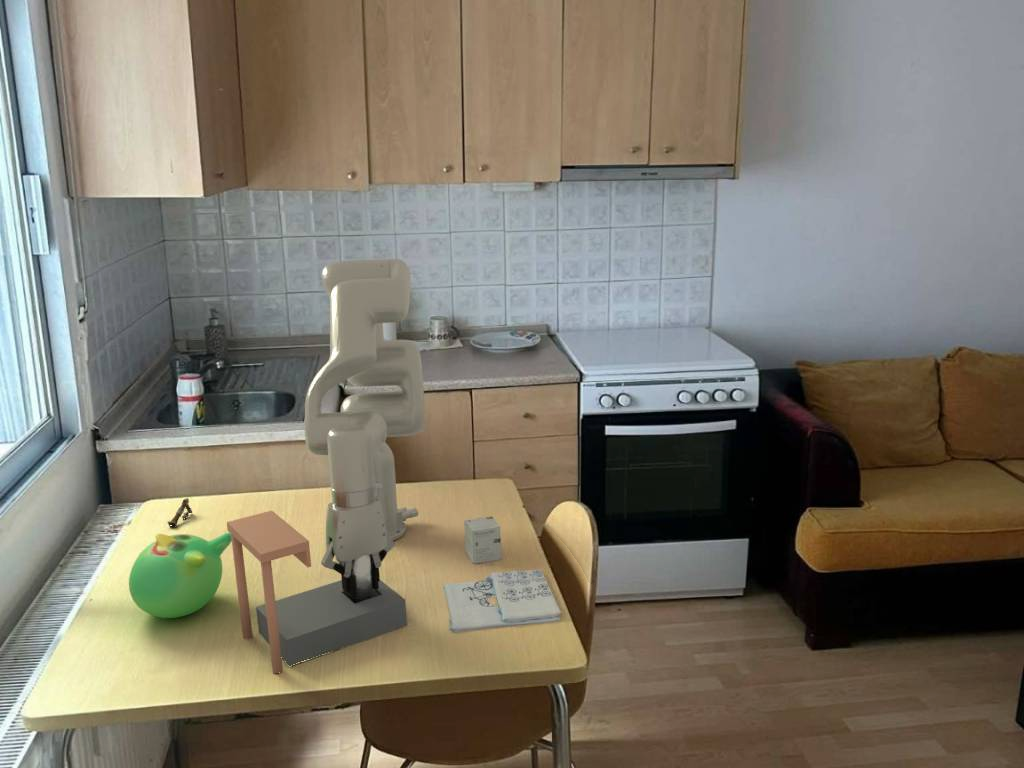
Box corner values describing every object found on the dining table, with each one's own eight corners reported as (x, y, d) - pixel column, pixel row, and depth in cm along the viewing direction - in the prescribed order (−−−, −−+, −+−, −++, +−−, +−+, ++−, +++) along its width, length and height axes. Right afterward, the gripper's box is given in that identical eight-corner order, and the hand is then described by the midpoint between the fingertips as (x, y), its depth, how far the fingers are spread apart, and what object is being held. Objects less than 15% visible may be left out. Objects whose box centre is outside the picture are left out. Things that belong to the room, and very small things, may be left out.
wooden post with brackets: (196, 509, 221) (190, 496, 218) (181, 535, 215) (174, 522, 212) (189, 509, 221) (183, 495, 218) (173, 535, 215) (166, 521, 212)
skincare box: (473, 564, 190) (471, 531, 188) (465, 552, 196) (463, 519, 194) (502, 559, 192) (500, 526, 190) (493, 547, 198) (491, 515, 196)
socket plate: (371, 595, 179) (369, 571, 178) (407, 625, 168) (405, 599, 167) (258, 632, 167) (255, 606, 166) (289, 667, 156) (286, 640, 155)
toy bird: (158, 587, 185) (148, 517, 181) (243, 585, 185) (235, 515, 181) (118, 634, 168) (106, 558, 164) (212, 633, 167) (203, 557, 163)
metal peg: (367, 593, 173) (363, 543, 170) (377, 601, 169) (373, 550, 167) (347, 600, 170) (343, 549, 168) (357, 608, 167) (353, 556, 165)
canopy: (283, 621, 171) (271, 510, 165) (320, 659, 158) (308, 540, 152) (240, 635, 166) (226, 522, 161) (274, 676, 154) (260, 554, 148)
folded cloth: (562, 624, 168) (562, 613, 167) (448, 636, 165) (448, 625, 165) (543, 575, 186) (543, 565, 185) (440, 585, 183) (439, 575, 183)
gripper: (386, 477, 172) (393, 569, 177) (300, 499, 163) (309, 596, 168) (406, 489, 166) (412, 584, 171) (318, 513, 157) (327, 613, 162)
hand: (361, 589), depth 169 cm, fingers closed on metal peg, 3 cm apart
